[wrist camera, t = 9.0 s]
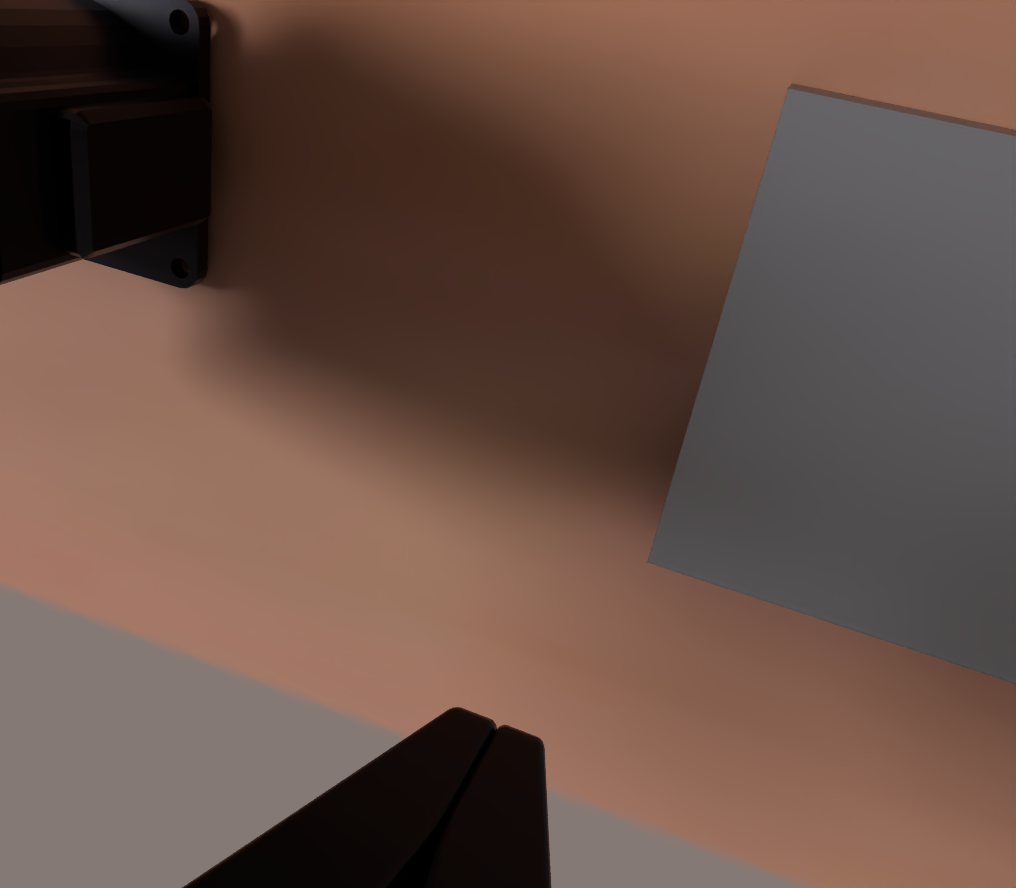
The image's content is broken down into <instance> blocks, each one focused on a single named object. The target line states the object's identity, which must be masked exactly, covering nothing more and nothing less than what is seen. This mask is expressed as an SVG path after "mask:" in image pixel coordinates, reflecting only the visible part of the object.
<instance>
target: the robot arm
mask: <svg viewBox="0 0 1016 888" xmlns="http://www.w3.org/2000/svg"><path fill="white" fill-rule="evenodd" d="M183 12H185V14H186V15H187V17H188V19H189V24H190V26H189V30H188V32H187V33H186V32H185V31H184V29H183V28H182V25H181V16H182V13H183ZM210 33H211V26H210V19H209V16H208V13H207V11H206V9H205V7H204V6H203V5H202V4H201V3H200V2H199V1H198V0H0V285H1V284H5V283H8V282H11V281H14V280H17V279H21V278H24V277H27V276H30V275H34V274H37V273H40V272H43V271H46V270H50V269H53V268H56V267H59V266H63V265H66V264H69V263H72V262H75V261H79V260H82V259H85V260H88V261H92V262H95V263H98V264H102V265H105V266H108V267H112V268H115V269H118V270H122V271H125V272H128V273H132V274H135V275H139V276H142V277H145V278H149V279H152V280H155V281H159V282H162V283H165V284H169V285H172V286H176V287H179V288H188V287H191V286H193V285H196V284H198V283H200V282H202V281H203V280H204V279H205V277H206V274H207V262H208V217H209V215H210V200H211V130H212V111H211V108H210ZM181 259H182V260H184V261H185V262H186V264H187V265H188V269H189V272H188V273H186V272H185V271H184V269H183V268H182V265H181ZM182 888H551V872H550V852H549V832H548V810H547V790H546V769H545V749H544V744H543V742H542V740H541V739H540V738H538V737H536V736H534V735H531V734H528V733H526V732H523V731H521V730H518V729H515V728H513V727H510V726H508V725H502V726H500V727H499V728H498V729H497V726H496V724H495V723H494V721H493V720H491V719H489V718H487V717H484V716H481V715H479V714H476V713H474V712H471V711H468V710H466V709H463V708H460V707H455V708H451V709H449V710H447V711H446V712H444V713H443V714H441V715H440V716H438V717H437V718H435V719H434V720H432V721H431V722H429V723H428V724H426V725H425V726H423V727H422V728H420V729H419V730H417V731H416V732H414V733H413V734H411V735H410V736H408V737H407V738H405V739H404V740H402V741H401V742H399V743H398V744H396V745H395V746H394V747H392V748H390V749H389V750H387V751H386V752H385V753H383V754H382V755H380V756H379V757H377V758H375V759H374V760H372V761H371V762H369V763H368V764H367V765H365V766H363V767H362V768H361V769H359V770H358V771H356V772H355V773H353V774H352V775H350V776H349V777H347V778H346V779H344V780H343V781H341V782H340V783H338V784H337V785H335V786H334V787H332V788H331V789H329V790H328V791H326V792H325V793H323V794H322V795H320V796H319V797H317V798H316V799H314V800H313V801H311V802H310V803H308V804H307V805H305V806H304V807H302V808H301V809H299V810H298V811H296V812H295V813H293V814H292V815H290V816H289V817H287V818H286V819H284V820H283V821H281V822H280V823H278V824H277V825H275V826H274V827H272V828H271V829H269V830H268V831H266V832H265V833H264V834H262V835H260V836H259V837H257V838H256V839H254V840H253V841H251V842H250V843H248V844H247V845H245V846H244V847H242V848H241V849H239V850H238V851H236V852H235V853H233V854H232V855H231V856H229V857H227V858H226V859H224V860H223V861H221V862H220V863H219V864H217V865H215V866H214V867H213V868H211V869H209V870H208V871H206V872H205V873H203V874H202V875H200V876H199V877H197V878H196V879H194V880H193V881H191V882H190V883H188V884H187V885H186V886H184V887H182Z"/></svg>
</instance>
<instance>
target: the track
mask: <svg viewBox="0 0 1016 888" xmlns="http://www.w3.org/2000/svg"><path fill="white" fill-rule="evenodd" d="M648 563H651V564H654V565H658V566H661V567H664V568H667V569H670V570H673V571H676V572H679V573H682V574H685V575H688V576H691V577H694V578H697V579H700V580H703V581H706V582H709V583H712V584H715V585H718V586H721V587H724V588H727V589H730V590H733V591H736V592H739V593H742V594H745V595H748V596H752V597H755V598H758V599H761V600H764V601H767V602H770V603H773V604H776V605H779V606H782V607H785V608H788V609H791V610H794V611H797V612H800V613H803V614H806V615H809V616H812V617H815V618H818V619H821V620H824V621H827V622H830V623H833V624H836V625H839V626H843V627H846V628H849V629H852V630H855V631H858V632H861V633H864V634H867V635H870V636H873V637H876V638H879V639H882V640H885V641H888V642H891V643H894V644H897V645H900V646H903V647H906V648H909V649H912V650H915V651H918V652H921V653H924V654H927V655H930V656H934V657H937V658H940V659H943V660H946V661H949V662H952V663H955V664H958V665H961V666H964V667H967V668H970V669H973V670H976V671H979V672H982V673H985V674H988V675H991V676H994V677H997V678H1000V679H1003V680H1006V681H1009V682H1012V683H1015V684H1016V130H1012V129H1007V128H1003V127H998V126H993V125H988V124H984V123H979V122H974V121H969V120H964V119H960V118H955V117H950V116H945V115H941V114H936V113H931V112H926V111H921V110H917V109H912V108H907V107H902V106H897V105H893V104H888V103H883V102H878V101H874V100H869V99H864V98H859V97H854V96H850V95H845V94H840V93H835V92H830V91H826V90H821V89H816V88H811V87H807V86H802V85H797V84H791V86H790V87H789V88H788V91H787V94H786V98H785V101H784V104H783V108H782V111H781V115H780V118H779V121H778V125H777V128H776V131H775V135H774V138H773V141H772V145H771V148H770V151H769V155H768V158H767V162H766V165H765V168H764V172H763V175H762V178H761V182H760V185H759V188H758V192H757V195H756V199H755V202H754V205H753V209H752V212H751V215H750V219H749V222H748V225H747V229H746V232H745V236H744V239H743V242H742V246H741V249H740V252H739V256H738V259H737V262H736V266H735V269H734V273H733V276H732V279H731V283H730V286H729V289H728V293H727V296H726V299H725V303H724V306H723V310H722V313H721V316H720V320H719V323H718V326H717V330H716V333H715V336H714V340H713V343H712V346H711V350H710V353H709V357H708V360H707V363H706V367H705V370H704V373H703V377H702V380H701V383H700V387H699V390H698V394H697V397H696V400H695V404H694V407H693V410H692V414H691V417H690V420H689V424H688V427H687V431H686V434H685V437H684V441H683V444H682V447H681V451H680V454H679V457H678V461H677V464H676V468H675V471H674V474H673V478H672V481H671V484H670V488H669V491H668V494H667V498H666V501H665V504H664V508H663V511H662V515H661V518H660V521H659V525H658V528H657V531H656V535H655V538H654V541H653V545H652V548H651V552H650V555H649V558H648Z"/></svg>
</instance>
